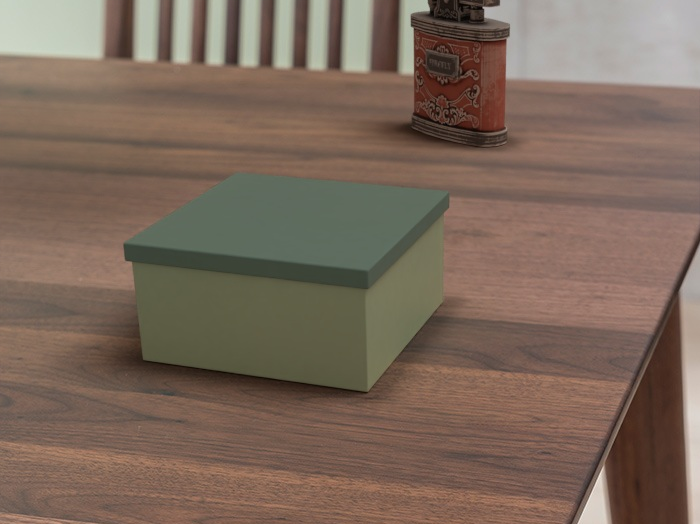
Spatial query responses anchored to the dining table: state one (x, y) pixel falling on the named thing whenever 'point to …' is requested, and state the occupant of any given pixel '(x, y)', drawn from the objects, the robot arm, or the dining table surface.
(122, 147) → the dining table surface
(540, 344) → the dining table surface
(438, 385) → the dining table surface
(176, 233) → the lidded box
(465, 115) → the lighter
